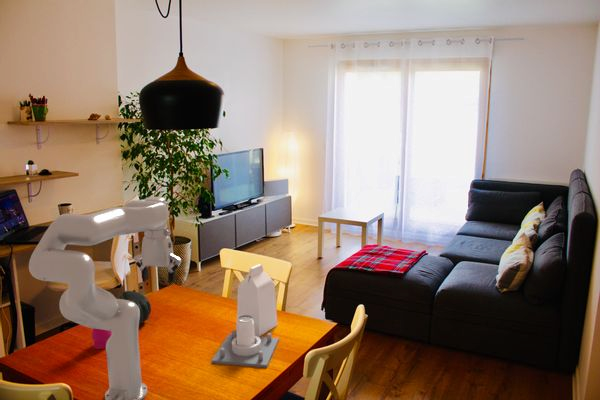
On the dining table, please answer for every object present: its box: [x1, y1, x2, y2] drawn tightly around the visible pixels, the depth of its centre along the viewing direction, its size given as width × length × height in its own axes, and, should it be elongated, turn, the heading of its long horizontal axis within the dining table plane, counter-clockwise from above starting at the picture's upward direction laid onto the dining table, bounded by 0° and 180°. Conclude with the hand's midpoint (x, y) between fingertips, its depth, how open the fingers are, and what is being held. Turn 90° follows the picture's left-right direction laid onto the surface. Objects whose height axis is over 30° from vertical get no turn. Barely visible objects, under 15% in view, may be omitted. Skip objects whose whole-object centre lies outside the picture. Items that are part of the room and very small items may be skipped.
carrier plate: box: [211, 329, 280, 368], centre depth 185 cm, size 20×20×4 cm
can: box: [235, 315, 255, 347], centre depth 184 cm, size 6×6×12 cm
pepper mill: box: [91, 328, 112, 350], centre depth 188 cm, size 7×7×20 cm
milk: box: [236, 263, 278, 337], centre depth 202 cm, size 12×12×26 cm
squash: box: [118, 290, 152, 326], centre depth 208 cm, size 14×15×15 cm
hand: (158, 281), depth 174 cm, fingers open, 9 cm apart
